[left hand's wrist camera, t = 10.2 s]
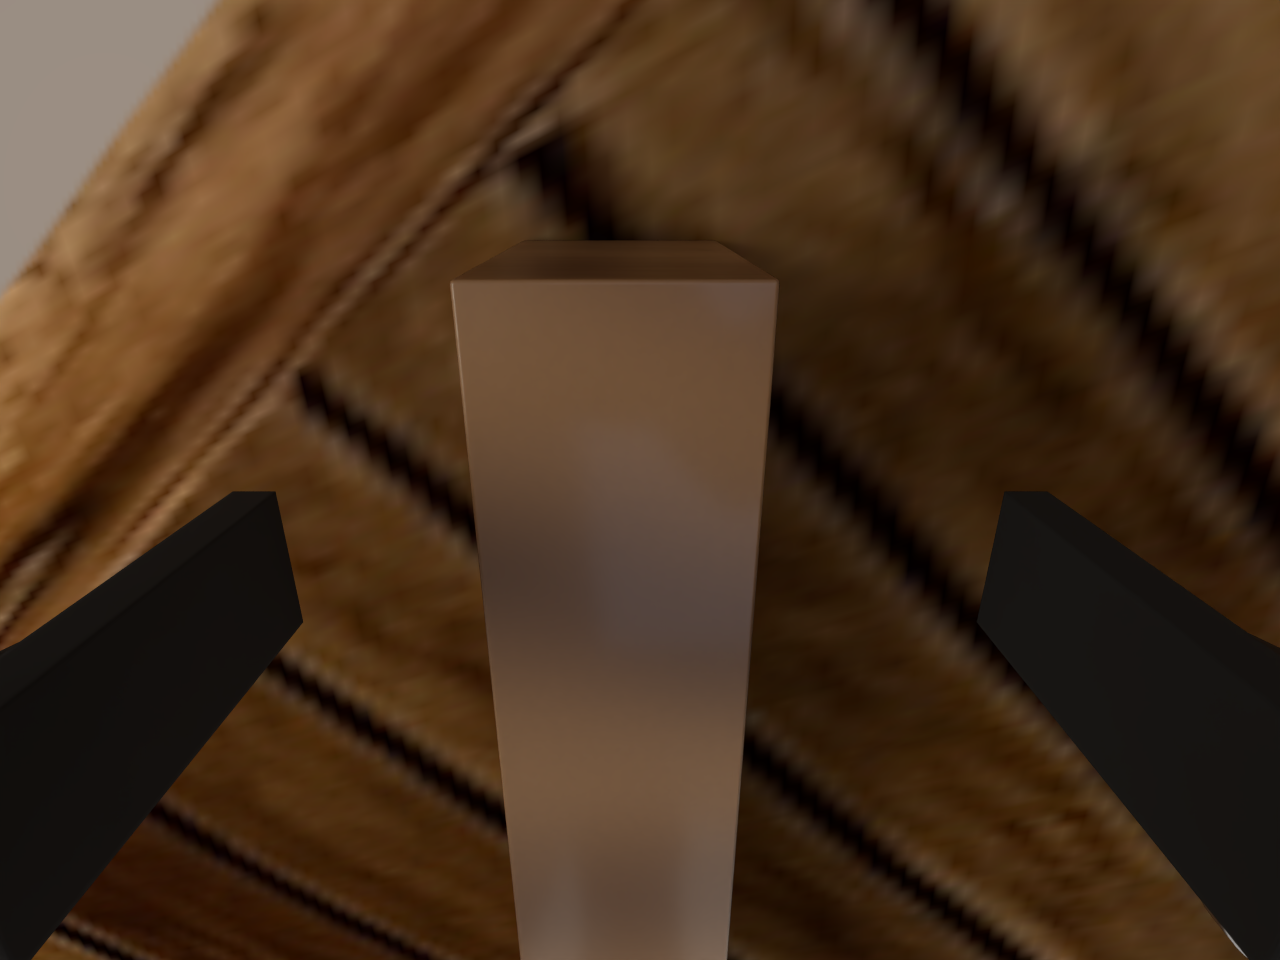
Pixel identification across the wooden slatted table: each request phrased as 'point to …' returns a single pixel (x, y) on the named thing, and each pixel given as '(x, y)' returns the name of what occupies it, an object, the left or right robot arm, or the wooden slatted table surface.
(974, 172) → the wooden slatted table surface
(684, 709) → the beam
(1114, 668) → the left robot arm
